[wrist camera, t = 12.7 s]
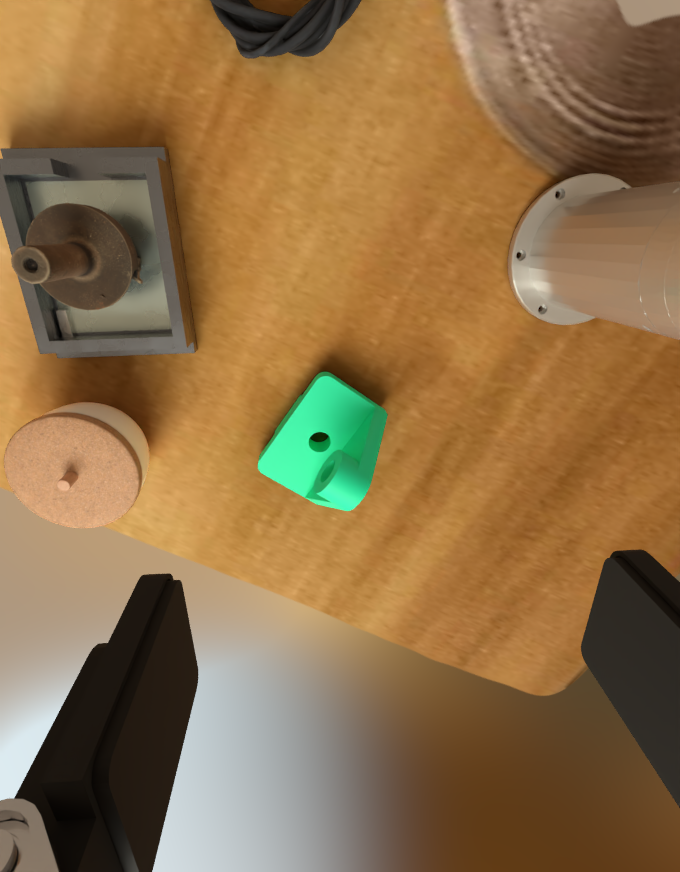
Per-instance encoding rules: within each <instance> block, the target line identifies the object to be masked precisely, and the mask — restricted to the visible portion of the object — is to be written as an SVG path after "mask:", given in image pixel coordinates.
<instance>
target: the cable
mask: <svg viewBox="0 0 680 872" xmlns="http://www.w3.org/2000/svg"><path fill="white" fill-rule="evenodd" d="M210 1H211V3H212V6H213V8H214V10H215V12H216V14H217V16H218V18H219V20H220V21H221V22H222V24H223V25H224V26H225V27H226V28H227V29H228V30H229V31H230V32H231V34H232V36H233V37H234V38H235V40H236V45H237V48H238V50H239V52H240V54H241V55H242V56H243V57H245V58H257V57H259V56H265V57H270V56H277V55H282V54H285V53H287V52H289V53H292V54H294V55H297V56H302V57H309V56H314V55H316V54H318V53H319V52H321V51H322V50H324V49H325V47H326V46H327V45H328V44H329V43H330V41H331V40H332V38H333V36H334V34H335V32H336V30H337V29H338V28H340V27H341V26H342V25H343V24H344V23H345V22H346V21H347V20H348V19H349V18H350V17H351V15H352V14H353V13H354V11H355V10H356V8H357V7H358V5H359V4H360V2H361V0H311V1H309V2H308V3H307V4H306V5H305V6H304V7H302V8H301V9H300V10H299V11H298V12H297V13H296V14H295V15H294V16H293V17H291V16H285V15H280V14H275V13H272V12H267V11H263V10H259V9H256V8H254V6H253V5H252V4H251V3H250V2H249V1H248V0H210Z"/></svg>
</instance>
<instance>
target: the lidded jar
mask: <svg viewBox="0 0 680 872" xmlns="http://www.w3.org/2000/svg"><path fill="white" fill-rule="evenodd" d="M149 461H150V453H149V447H148V443H147V440H146V437H145V435H144V433H143V432H142V430H141V428H140V427H139V426H138V425H137V423H136V422H135V421H134V420H133V419H132V418H130V417H129V416H128V415H127V414H125V413H124V412H122V411H120V410H118V409H116V408H114V407H111V406H109V405H105V404H101V403H92V402H79V403H73V404H69V405H64V406H61V407H59V408H56V409H54V410H51V411H49V412H47V413H45V414H44V415H42V416H40V417H38V418H36V419H34V420H32V421H30V422H29V423H27V424H26V425H24V426H23V427H21V428H20V429H19V430H18V431H17V432H16V433H15V434H14V435H13V437H12V438H11V439H10V441H9V443H8V445H7V448H6V451H5V456H4V468H5V473H6V477H7V480H8V482H9V485H10V487H11V488H12V490H13V492H14V493H15V495H16V496H17V497H18V498H19V500H20V501H21V502H22V503H23V504H24V505H25V506H26V507H27V508H29V509H30V510H31V511H33V512H34V513H35V514H37V515H39V516H41V517H42V518H44V519H46V520H48V521H51V522H53V523H56V524H60V525H63V526H68V527H73V528H93V527H98V526H103V525H106V524H109V523H112V522H114V521H115V520H117V519H119V518H121V517H122V516H123V515H124V514H125V513H127V512H128V510H129V509H130V508H131V507H132V506H133V504H134V502H135V501H136V499H137V497H138V495H139V492H140V490H141V488H142V486H143V484H144V482H145V479H146V476H147V473H148V469H149Z"/></svg>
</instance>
